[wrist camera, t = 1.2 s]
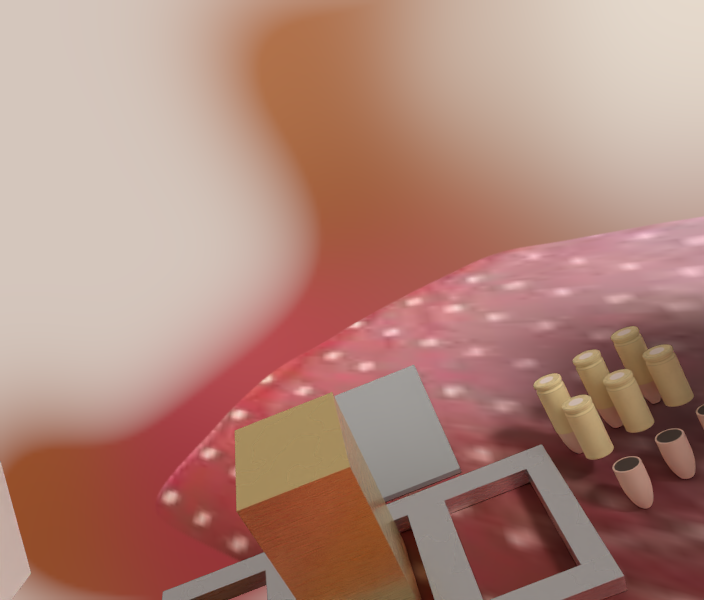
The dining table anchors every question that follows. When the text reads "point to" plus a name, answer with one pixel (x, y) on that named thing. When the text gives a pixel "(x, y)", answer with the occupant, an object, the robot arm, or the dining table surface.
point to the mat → (398, 433)
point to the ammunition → (622, 408)
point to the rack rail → (445, 547)
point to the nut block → (319, 507)
